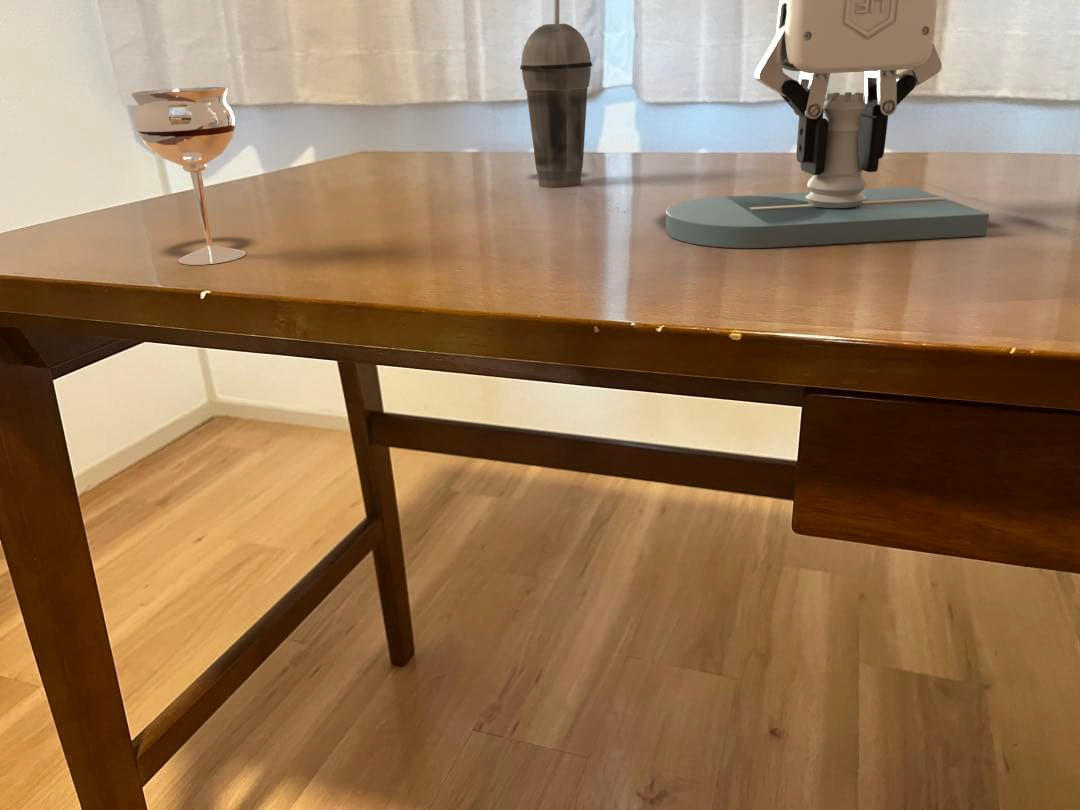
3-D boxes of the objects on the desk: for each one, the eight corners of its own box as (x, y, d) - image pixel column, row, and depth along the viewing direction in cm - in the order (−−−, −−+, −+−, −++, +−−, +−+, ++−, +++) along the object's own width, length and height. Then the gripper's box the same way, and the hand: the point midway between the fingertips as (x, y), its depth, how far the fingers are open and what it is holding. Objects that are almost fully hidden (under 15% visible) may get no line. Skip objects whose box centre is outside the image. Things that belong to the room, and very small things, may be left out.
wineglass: (198, 245, 69) (166, 88, 65) (274, 246, 68) (247, 85, 63) (145, 267, 63) (106, 95, 58) (227, 268, 62) (194, 92, 57)
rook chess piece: (796, 200, 68) (804, 93, 65) (850, 196, 68) (861, 90, 65) (818, 210, 64) (827, 97, 61) (875, 207, 64) (888, 93, 61)
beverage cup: (515, 188, 89) (504, -27, 81) (538, 177, 95) (530, -24, 87) (583, 189, 86) (578, -32, 78) (602, 178, 93) (599, -29, 85)
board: (909, 205, 73) (912, 185, 72) (986, 236, 62) (990, 212, 61) (652, 219, 72) (653, 199, 71) (684, 252, 61) (684, 228, 60)
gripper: (760, -112, 54) (744, 184, 61) (1015, -122, 55) (969, 172, 62) (729, -96, 61) (718, 169, 68) (955, -104, 62) (920, 159, 69)
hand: (838, 168), depth 65 cm, fingers closed on rook chess piece, 3 cm apart
